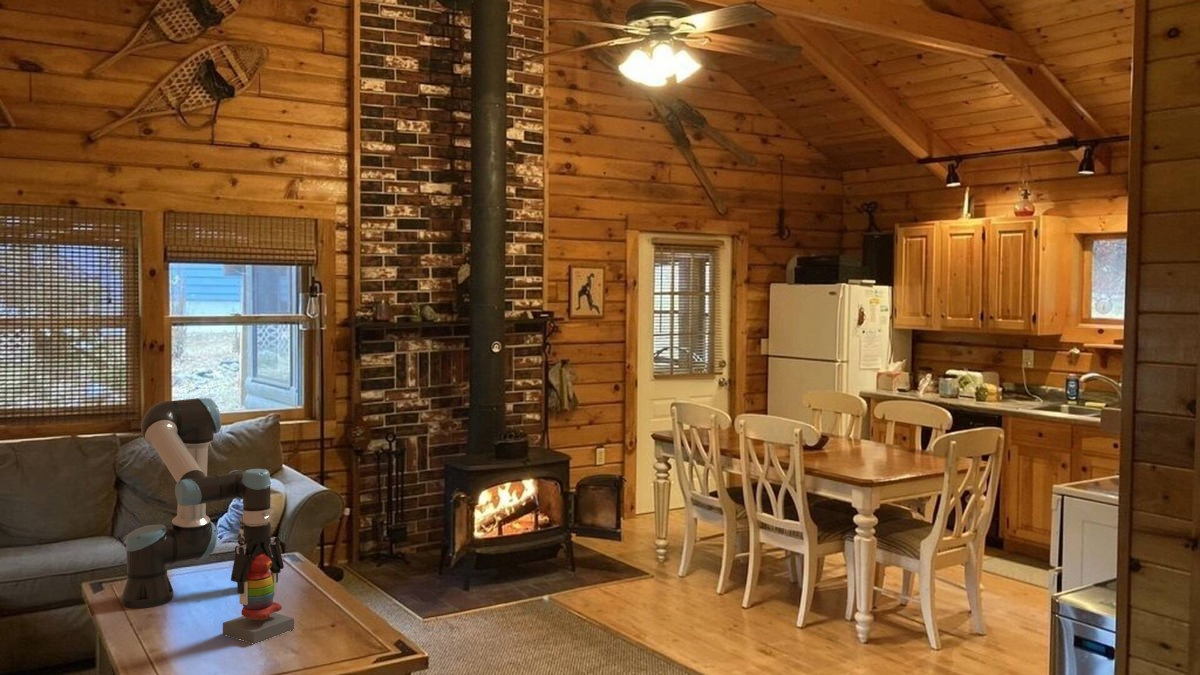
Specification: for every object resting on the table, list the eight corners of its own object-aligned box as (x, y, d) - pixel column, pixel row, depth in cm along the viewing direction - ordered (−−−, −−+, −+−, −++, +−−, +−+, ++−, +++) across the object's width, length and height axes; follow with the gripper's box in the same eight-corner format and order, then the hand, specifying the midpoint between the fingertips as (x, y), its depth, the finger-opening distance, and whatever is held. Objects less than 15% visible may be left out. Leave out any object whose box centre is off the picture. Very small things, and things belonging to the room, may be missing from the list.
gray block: (222, 636, 284) (222, 622, 284) (263, 622, 296) (262, 609, 295) (254, 646, 276) (253, 632, 276) (294, 631, 288) (294, 618, 288)
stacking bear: (264, 620, 279) (263, 558, 278) (232, 617, 281) (231, 556, 280) (284, 608, 290) (283, 548, 289) (253, 605, 292) (252, 546, 291)
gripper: (232, 533, 273) (234, 612, 274) (296, 517, 291) (297, 591, 293) (215, 529, 277) (217, 607, 278) (279, 514, 295) (280, 587, 297)
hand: (258, 599), depth 285 cm, fingers closed on stacking bear, 9 cm apart
